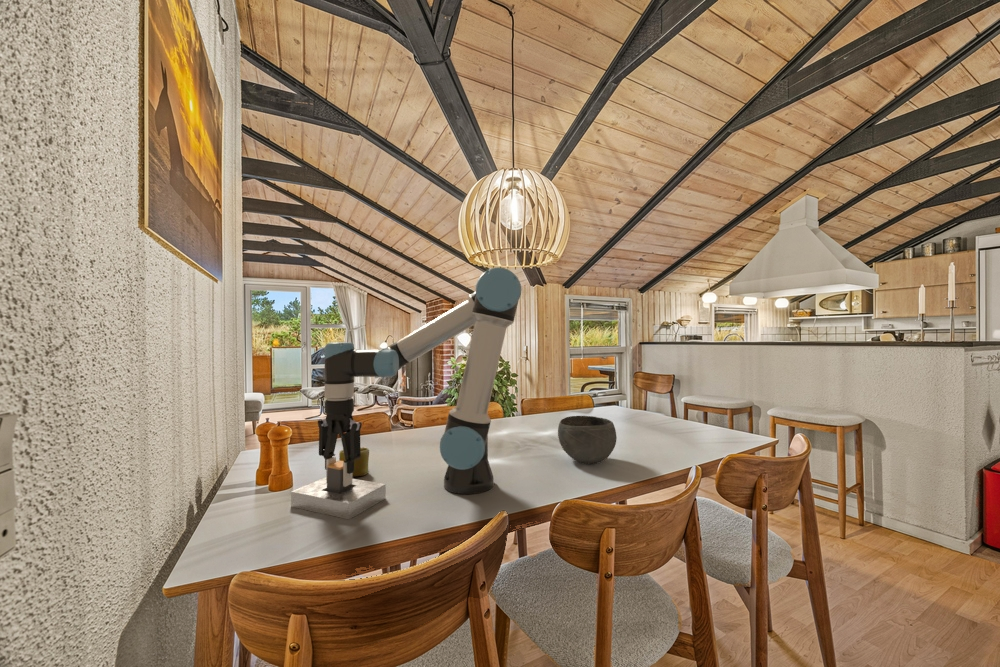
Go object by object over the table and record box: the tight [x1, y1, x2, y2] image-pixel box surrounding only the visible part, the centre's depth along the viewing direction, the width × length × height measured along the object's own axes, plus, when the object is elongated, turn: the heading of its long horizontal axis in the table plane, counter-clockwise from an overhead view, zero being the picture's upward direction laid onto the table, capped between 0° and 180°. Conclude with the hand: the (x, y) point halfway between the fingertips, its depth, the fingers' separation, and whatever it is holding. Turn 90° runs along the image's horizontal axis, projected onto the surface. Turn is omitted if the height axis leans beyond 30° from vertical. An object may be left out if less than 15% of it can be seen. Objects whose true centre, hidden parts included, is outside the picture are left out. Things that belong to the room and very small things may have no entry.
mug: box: [338, 446, 370, 478], centre depth 135 cm, size 12×10×10 cm
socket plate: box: [290, 476, 387, 520], centre depth 111 cm, size 20×14×5 cm
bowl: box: [557, 415, 617, 465], centre depth 147 cm, size 21×21×15 cm
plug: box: [327, 460, 352, 494], centre depth 111 cm, size 4×4×10 cm
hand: (339, 483), depth 111 cm, fingers open, 5 cm apart
